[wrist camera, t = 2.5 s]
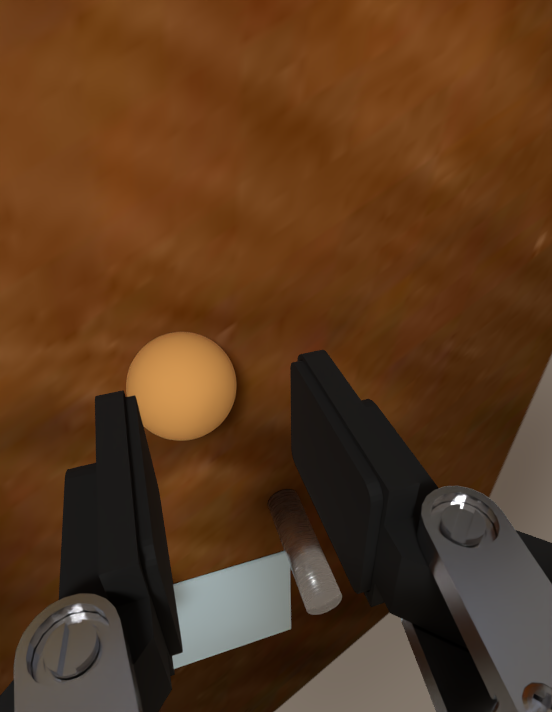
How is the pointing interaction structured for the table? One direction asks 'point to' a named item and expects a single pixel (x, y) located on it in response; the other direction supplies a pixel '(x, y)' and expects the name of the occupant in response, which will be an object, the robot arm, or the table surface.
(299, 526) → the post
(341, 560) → the robot arm
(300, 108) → the table surface
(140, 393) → the ball
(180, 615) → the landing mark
